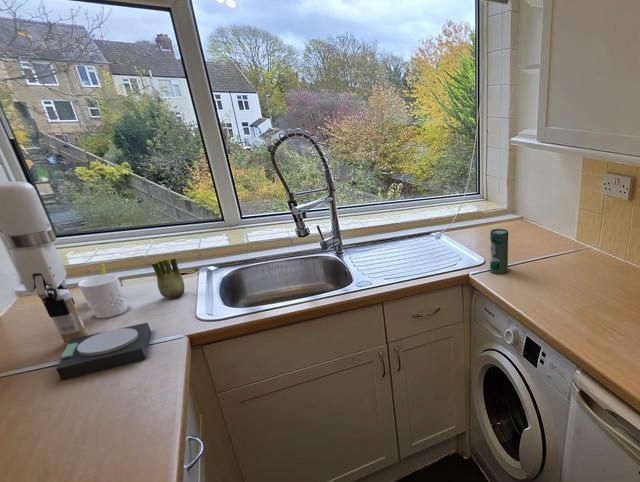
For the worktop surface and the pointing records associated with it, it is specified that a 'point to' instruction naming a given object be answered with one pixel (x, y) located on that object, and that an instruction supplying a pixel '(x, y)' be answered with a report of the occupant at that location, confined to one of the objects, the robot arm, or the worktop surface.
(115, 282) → the white cup
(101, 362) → the scale
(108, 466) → the worktop surface
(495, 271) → the can
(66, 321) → the sprinkles bottle
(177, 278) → the fennel bulb
